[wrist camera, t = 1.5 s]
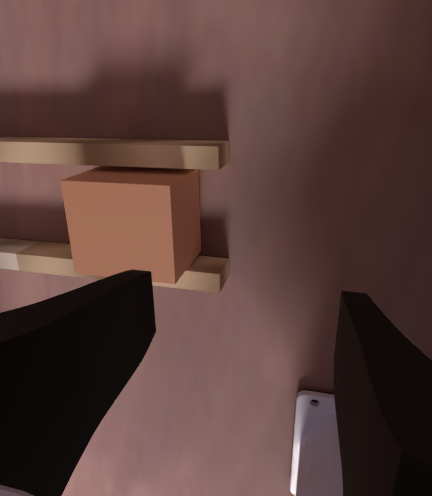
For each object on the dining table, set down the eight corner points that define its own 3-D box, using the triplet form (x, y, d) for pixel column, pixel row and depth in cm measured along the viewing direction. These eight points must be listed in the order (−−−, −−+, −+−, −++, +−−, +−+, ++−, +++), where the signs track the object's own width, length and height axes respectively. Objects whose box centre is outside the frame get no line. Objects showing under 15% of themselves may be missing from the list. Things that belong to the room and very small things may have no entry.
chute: (228, 140, 19) (212, 150, 16) (228, 275, 22) (214, 302, 19) (-79, 134, 23) (-132, 141, 21) (-49, 247, 26) (-93, 266, 23)
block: (198, 167, 20) (169, 185, 16) (201, 251, 22) (175, 284, 18) (106, 164, 21) (60, 180, 18) (115, 243, 23) (74, 273, 19)
